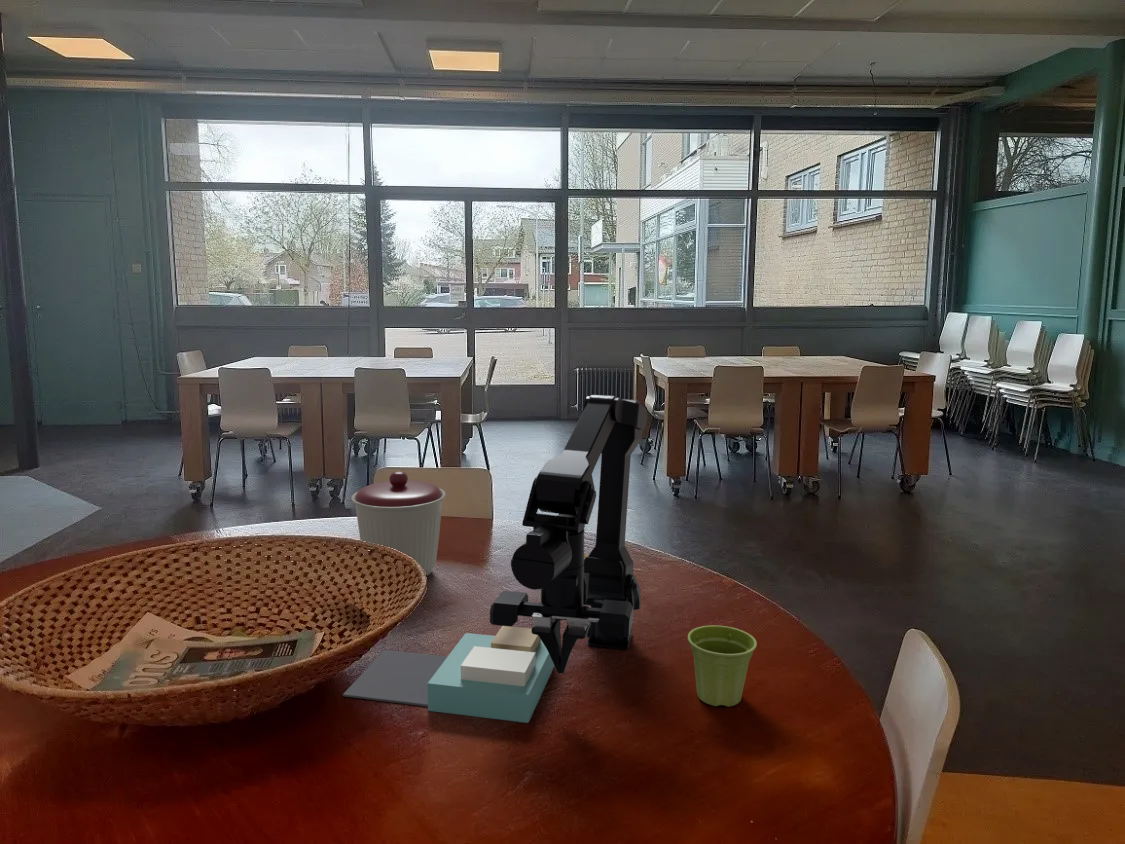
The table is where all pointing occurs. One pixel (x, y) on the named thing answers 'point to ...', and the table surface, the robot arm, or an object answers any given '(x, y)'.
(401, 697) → the mat
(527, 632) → the oak tile
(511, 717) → the plate
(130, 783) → the table surface
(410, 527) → the canister
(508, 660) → the white box
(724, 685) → the plant pot
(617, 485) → the robot arm
